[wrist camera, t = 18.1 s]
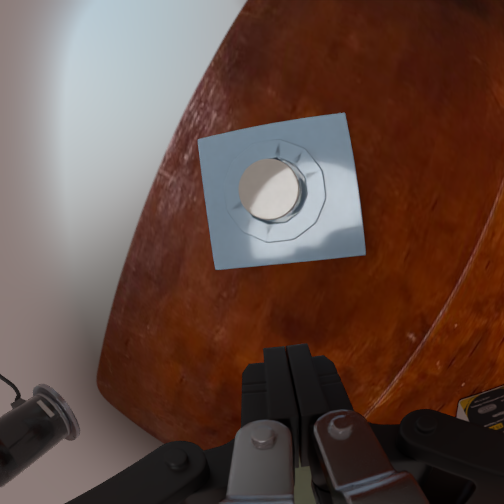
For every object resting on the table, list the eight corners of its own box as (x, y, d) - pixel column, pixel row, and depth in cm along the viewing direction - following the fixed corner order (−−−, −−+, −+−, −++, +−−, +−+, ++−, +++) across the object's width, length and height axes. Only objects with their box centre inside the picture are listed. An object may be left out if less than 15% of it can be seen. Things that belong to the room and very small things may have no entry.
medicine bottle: (514, 379, 20) (566, 446, 9) (502, 429, 21) (537, 497, 9) (458, 398, 22) (497, 482, 11) (449, 447, 23) (473, 526, 11)
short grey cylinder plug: (251, 222, 20) (242, 223, 18) (243, 168, 20) (234, 164, 18) (306, 215, 19) (303, 215, 17) (297, 159, 19) (294, 153, 17)
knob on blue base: (227, 263, 26) (204, 276, 21) (211, 146, 25) (185, 134, 20) (361, 249, 23) (369, 260, 18) (343, 123, 22) (345, 103, 17)
